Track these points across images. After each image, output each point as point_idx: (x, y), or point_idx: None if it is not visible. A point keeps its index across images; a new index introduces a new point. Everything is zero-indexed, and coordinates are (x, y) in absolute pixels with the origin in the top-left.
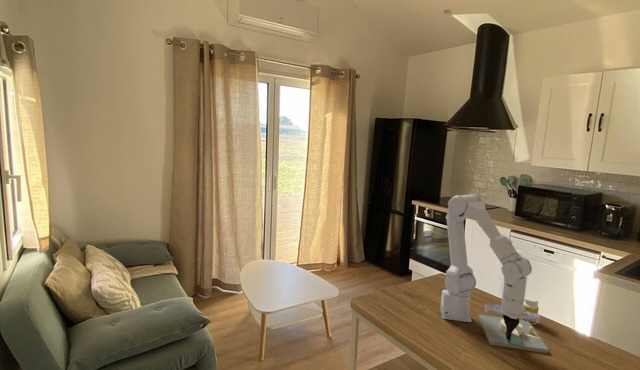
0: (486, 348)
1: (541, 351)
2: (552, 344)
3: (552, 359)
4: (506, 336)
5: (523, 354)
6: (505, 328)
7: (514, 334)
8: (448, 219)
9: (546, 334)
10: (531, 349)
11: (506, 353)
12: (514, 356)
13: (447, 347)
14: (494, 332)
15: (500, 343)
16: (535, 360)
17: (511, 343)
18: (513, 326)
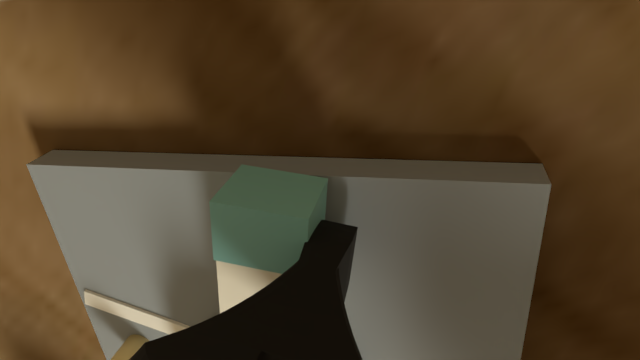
0: (626, 76)
1: (91, 155)
2: (34, 264)
3: (24, 72)
4: (351, 255)
5: (237, 77)
6: None
7: (262, 274)
8: None
9: (67, 355)
10: (159, 159)
11: (405, 41)
12: (331, 8)
13: None
14: (437, 331)
15: (433, 173)
16: (145, 5)
17: (319, 177)
18: (242, 327)
